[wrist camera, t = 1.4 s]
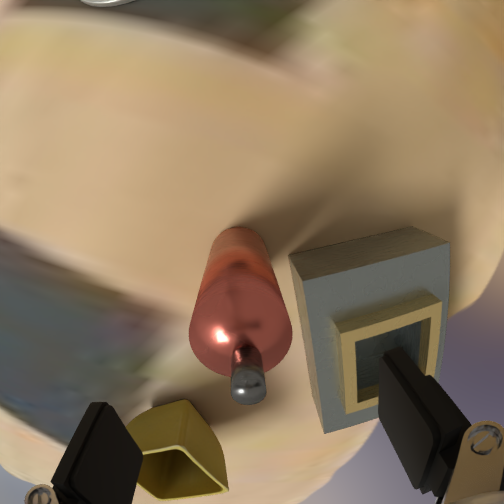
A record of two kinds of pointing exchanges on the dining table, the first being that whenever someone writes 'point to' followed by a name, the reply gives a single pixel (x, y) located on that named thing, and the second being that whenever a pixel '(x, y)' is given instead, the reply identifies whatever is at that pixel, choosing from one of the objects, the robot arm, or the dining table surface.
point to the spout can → (240, 314)
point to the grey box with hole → (369, 316)
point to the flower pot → (178, 453)
